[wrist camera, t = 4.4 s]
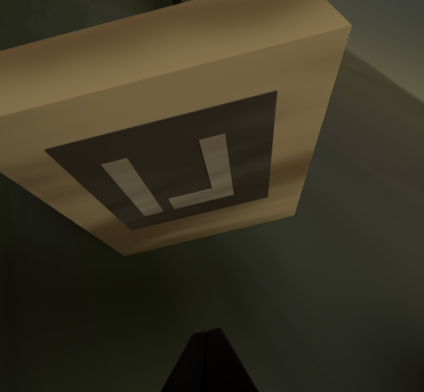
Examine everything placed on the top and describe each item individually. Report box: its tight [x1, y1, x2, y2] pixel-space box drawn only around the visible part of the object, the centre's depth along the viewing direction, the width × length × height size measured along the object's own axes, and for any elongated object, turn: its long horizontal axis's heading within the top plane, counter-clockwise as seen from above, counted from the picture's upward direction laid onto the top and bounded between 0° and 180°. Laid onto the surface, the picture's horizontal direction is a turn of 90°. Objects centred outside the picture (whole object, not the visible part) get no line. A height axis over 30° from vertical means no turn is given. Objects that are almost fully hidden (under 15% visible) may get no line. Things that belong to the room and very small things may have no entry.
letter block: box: [0, 0, 352, 256], centre depth 13 cm, size 4×12×12 cm, turn 101°
